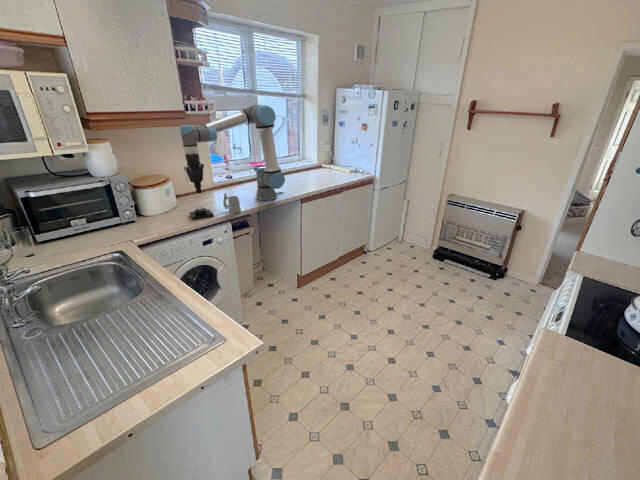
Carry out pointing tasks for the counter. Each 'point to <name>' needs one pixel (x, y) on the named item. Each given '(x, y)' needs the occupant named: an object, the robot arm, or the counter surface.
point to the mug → (232, 203)
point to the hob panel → (201, 214)
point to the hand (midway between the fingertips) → (199, 192)
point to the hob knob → (200, 208)
